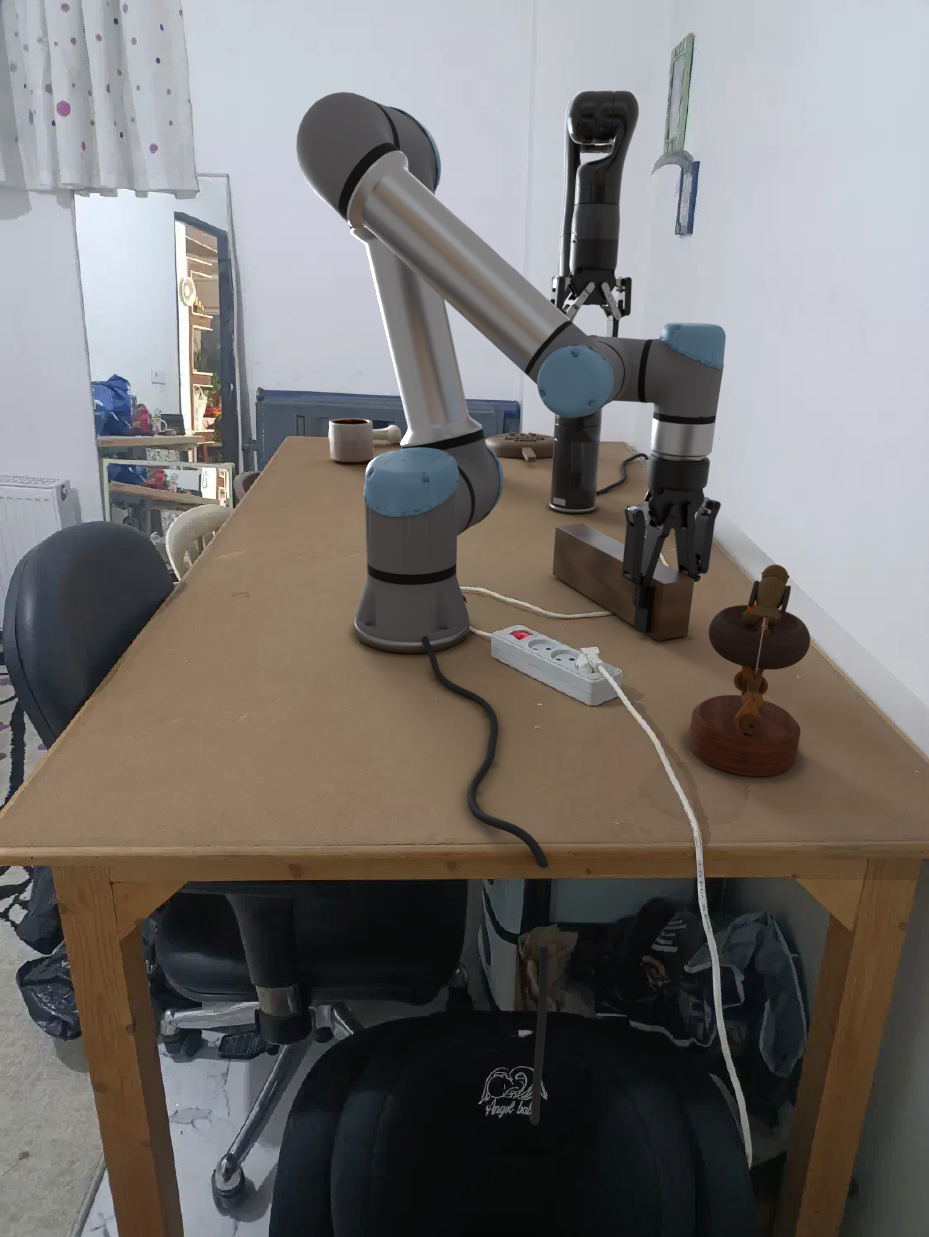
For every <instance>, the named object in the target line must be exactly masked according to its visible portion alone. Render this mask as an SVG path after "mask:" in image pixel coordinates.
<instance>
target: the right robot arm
mask: <svg viewBox="0 0 929 1237" xmlns="http://www.w3.org/2000/svg"><path fill="white" fill-rule="evenodd" d="M564 118H565V119H564V136H563V137H564V139H563V140H564V142H563V144H564V145H563V148H564V149H563V192H562V193H563V194H562V205H561V206H562V208H561V218H560V219H561V220H560V227H559V228H560V230H559V238H558V239H559V240H558V255H557V256H558V260H557V261H558V262H557V275H554V276H552V277H551V279H550V280H551V281H550V291H549V299H548V300H549V301H550V302H551V303H553V304H554V305H555V306H556V307H557V308H558V309H559V310H560V311H561V312H562V313H563V314H565V315H566V316H567V317H568V318H569V319H570V320H571V322H572V323H574V322H575V319H576V317H577V315H578V313H579V311H580V310H581V307H582V306H598V307H599V308H600V309H602V310H603V312H604V314H605V316H606V318H607V319H605V328H604V330H605V331H604V337H617V338H619V329H620V328H619V326H620V320H621V319H622V318H624V317H628V316H630V315H631V313H632V291H633V290H632V287H633V279H632V277H630V276H619V277H616V274H615V273H616V269H617V266H618V256H619V244H620V232H621V231H620V229H621V196H622V183H623V175H624V170H625V164H626V160H627V156H628V152H629V149H630V147H631V143H632V140H633V138H634V134H635V132H636V129H637V126H638V123H639V118H640V103H639V100H638V98H637V97H636V94H635V93H633V91H632V90H627V89H609V90H608V89H596V90H595V89H586V90H581V91H578V92H577V93H576V94H575V95H574V96H573V97H571V98H570V99H569V101H568V103H567V105H566V110H565V116H564ZM584 154H585V155H606V156H605V157H602V158H599V159H595V160H591V161H586V162H583V163H582V156H581V155H584ZM614 289H615V291H616V299H615V297H614V295H613V293H612V292H613V291H614ZM602 418H603V408H601V409H599V410H598V411H596V412H595V413H593V414H590V415H588V416H582V417H576V418H566V417H562V416H559V415H557V414H555V413H554V425H553V426H554V427H553V428H554V429H553V437H554V445H553V456H552V465H551V481H550V501H549V509H551V510H553V511H555V512H560V513H564V514H587V513H592V512H594V511H595V510H596V507H597V504H596V502H597V501H596V500H597V495H602V494H605V493H607V492H608V491H610V490H612V489H615V488H617V487H620V486H621V485H623V484H624V483H625V482H626V481H627V478H628V476H627V471H626V470H627V469H626V468H625V466H626V465H627V464H628V463H630V462H632V461H634V460H636V459H639V458H644V460H648V459H649V455H647V454H646V453H643V452H640V453H636V454H634V455H632V456H631V457H628V458H626V459H624V460H623V461H622V462H621V464H620V470H621V475H622V478H621V479H620V480H618V481H616V482H614V483H611V484H609V485H607V486H606V487H604V488H602V489H599V490H598V488H597V487H598V477H599V476H598V474H599V462H600V450H601V449H600V447H601V434H602V422H603V419H602Z"/></svg>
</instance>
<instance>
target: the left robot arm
mask: <svg viewBox="0 0 929 1237" xmlns="http://www.w3.org/2000/svg"><path fill="white" fill-rule="evenodd" d="M295 147H296V148H295V150H296V157H297V158H296V159H297V162H298V166H299V169H300V172H301V174H302V176H303V178H304V180H305V181H306V183H307V184H308V186H309V187H310V188H311V190H312V191H313V192H314V193H315V194H316V195H317V196H318V197H319V198H320V199H321V200H322V201H323V202H324V203H325V204H326V205H327V206H328V207H330V208H331V209H332V210H333V211H334V212H335V213H336V214H337V215H339V216H340V218H342V220H344V221H345V223H347V224H348V225H349V226H348V227H349V230H350V234H351V236H353V237H355V238H356V239H357V240H359V241H360V242H361V243H362V244H364V245H365V247H366V252H367V256H368V260H369V265H370V270H371V273H372V278H373V282H374V287H375V290H376V295H377V300H378V304H379V308H380V313H381V317H382V321H383V325H384V326H383V327H384V330H385V334H386V338H387V342H388V343H387V344H388V347H389V351H390V355H391V359H392V365H393V368H394V372H395V377H396V382H397V387H398V391H399V395H400V400H401V403H402V407H403V413H404V418H405V421H406V425H407V431H406V433H405V435H404V436H403V438H402V439H401V441H400V450H390V451H387V452H383V453H381V454H379V455H377V456H376V457H373V459H372V460H370V461H369V463H368V464H367V467H366V470H365V472H364V473H365V474H364V485H363V490H362V493H363V494H362V495H363V500H364V520H365V550H366V579H365V584H364V586H363V589H362V592H361V596H360V600H359V602H358V606H357V609H356V612H355V618H354V633H355V636H356V638H357V639H358V640H359V641H360V642H362V643H363V644H365V645H367V646H368V647H371V648H374V649H377V650H380V651H384V652H390V653H396V654H397V653H398V654H425V653H426V654H427V656H428V658H429V662H430V666H431V669H432V672H433V674H434V676H435V678H436V679H437V680H438V681H439V682H440V683H441V684H442V685H443V686H444V687H446V688H448V689H449V690H451V691H452V692H454V693H456V694H458V695H460V696H463V697H465V698H467V699H469V700H471V701H473V702H475V703H476V704H478V705H479V706H480V707H481V708H482V709H483V710H484V712H485V713H486V715H487V716H488V719H489V724H490V730H489V736H488V741H487V742H488V744H487V749H486V754H485V757H484V759H483V762H482V764H481V765H480V766H479V768H478V770H477V771H476V773H475V774H474V777H473V778H472V779H471V781H470V783H469V785H468V788H467V793H466V799H467V805H468V808H469V810H470V812H471V814H472V815H473V816H474V817H475V818H476V819H477V820H479V821H480V822H482V823H483V824H485V825H488V826H491V827H493V828H495V829H498V830H500V831H504V832H506V833H509V834H511V835H513V836H514V837H517V838H518V839H520V840H521V841H522V842H523V843H524V844H525V845H526V846H527V847H528V848H529V849H530V851H531V852H532V854H533V856H534V858H535V860H536V863H537V865H538V866H539V867H540V868H542V869H547V868H548V867H549V863H548V860H547V856H546V855H545V853H544V851H543V849H542V848H541V846H540V844H539V842H538V841H536V839H535V838H534V837H533V836H532V835H531V834H530V833H529V832H528V831H526V830H525V829H524V828H521V827H519V825H516V824H514V823H512V822H509V821H506V820H503V819H501V818H498V817H495V816H492V815H491V814H487V813H486V812H484V811H483V810H482V808H480V807H479V804H478V802H477V791H478V787H479V785H480V783H481V782H482V781H483V778H484V777H485V775H486V774H487V773H488V770H490V767H491V765H492V764H493V761H494V758H495V754H496V747H497V741H498V736H499V722H498V717H497V715H496V712H495V710H494V708H493V707H492V706H491V704H490V703H489V702H488V701H486V699H484V698H483V697H482V696H480V695H478V694H477V693H475V692H473V691H471V690H469V689H466V688H464V687H462V686H460V685H457V684H456V683H454V682H452V681H451V680H449V679H448V678H447V677H445V675H444V674H443V672H442V671H441V669H440V667H439V663H438V660H437V656H436V654H435V652H439V651H443V650H446V649H449V648H452V647H455V646H457V645H458V644H460V643H462V642H463V641H464V640H466V639H467V637H468V636H469V634H470V616H469V612H468V608H467V606H466V604H468V601H467V598H466V597H465V596H464V595H463V593H462V589H461V586H460V583H459V581H458V577H457V561H458V560H457V559H458V558H457V557H458V556H457V554H458V536H460V535H461V534H462V533H464V532H465V531H467V530H468V529H470V528H471V527H474V526H476V525H477V524H479V523H481V522H482V521H484V520H485V519H486V518H487V517H488V516H489V515H490V514H491V513H492V511H493V510H494V508H495V507H496V506H497V505H498V502H500V499H501V497H502V494H503V490H504V484H505V483H504V482H505V475H504V469H503V467H502V464H501V463H502V462H501V460H500V459H499V456H497V455H496V454H495V453H494V452H493V451H492V450H491V449H490V448H489V447H487V446H486V441H485V440H486V437H485V432H484V428H483V425H482V424H481V423H480V422H478V421H477V420H475V419H474V418H472V417H471V415H470V414H469V409H468V405H467V400H466V395H465V390H464V386H463V381H462V376H461V372H460V371H461V370H460V366H459V362H458V357H457V353H456V347H455V343H454V337H453V333H452V328H451V324H450V318H449V313H448V309H447V304H446V302H447V303H448V304H449V305H450V306H451V307H452V308H453V309H454V310H455V311H457V313H458V314H460V315H461V316H462V317H463V318H464V319H465V320H467V322H469V323H470V324H471V325H472V326H473V327H474V329H476V330H477V331H478V332H479V333H481V335H483V337H484V338H485V339H487V340H488V341H489V342H490V343H491V344H492V345H494V346H495V347H496V348H497V349H498V350H499V351H500V352H501V353H502V354H503V355H505V356H506V358H508V359H509V360H510V361H511V362H512V364H514V365H515V366H516V367H517V368H519V369H520V370H521V372H523V373H524V374H525V375H526V376H527V377H528V378H530V380H532V382H534V384H535V385H536V386H537V391H538V394H539V397H540V400H541V402H542V403H543V405H544V406H545V407H546V408H547V409H548V410H549V411H550V412H552V413H553V414H554V415H555V414H557V415H559V416H562V417H566V418H576V417H582V416H588V415H590V414H593V413H595V412H596V411H598V410H599V409H601V408H602V409H603V408H604V407H605V406H606V405H608V404H610V403H612V402H627V403H628V402H629V403H641V404H653V412H652V413H653V414H652V424H651V432H650V443H649V448H650V450H651V451H652V453H651V454H650V455H648V458H649V459H647V467H646V477H645V478H646V480H645V481H646V483H647V491H646V494H645V495H644V497H643V501H642V502H640V503H637V504H636V505H634V506H633V505H631V504H627V505H626V506H625V507H624V511H623V512H624V514H625V515H624V516H625V520H626V529H625V537H624V545H625V547H624V556H623V566H622V577H623V578H625V579H626V580H628V581H630V582H632V583H633V584H634V591H633V600H632V603H633V606H635V607H636V609H635V619H634V626H633V627H634V628H636V629H637V630H639V631H641V632H642V633H644V634H646V633H650V629H651V621H652V612H653V604H654V595H655V586H653V585H651V581H652V578H653V575H654V572H655V569H656V566H657V562H659V559H660V557H661V553H662V550H663V546H664V544H665V540H666V538H668V537H669V536H670V534H671V531H672V529H673V530H674V537H675V538H674V539H675V549H676V559H677V571H678V572H680V573H682V574H684V575H686V576H688V577H690V578H692V579H694V583H698V582H699V581H700V580H701V574H702V575H706V574H707V573H708V571H709V568H710V561H711V554H712V547H713V546H712V545H713V541H714V540H713V539H714V530H715V524H716V519H717V517H718V514H719V512H720V510H721V506H722V504H721V502H720V501H719V500H715V499H713V498H710V497H707V496H705V492H704V489H705V488H706V487H707V485H708V481H709V475H710V474H709V472H710V468H711V467H710V466H711V460H710V458H709V457H708V456H709V455H711V454H712V452H713V446H714V437H715V430H716V420H717V413H718V405H719V400H720V393H721V386H722V380H723V379H722V378H723V373H724V367H725V363H724V362H725V348H726V340H727V339H726V338H727V334H726V332H725V329H724V328H723V327H722V326H720V325H719V324H714V323H704V322H703V323H702V322H668V323H666V324H664V326H663V327H662V331H661V334H660V335H659V338H654V339H653V338H648V339H645V338H644V339H642V338H630V337H629V338H628V337H618V338H617V337H605V336H603V335H602V336H599V335H596V334H590V335H587V334H586V333H585V332H584V331H583V330H582V329H581V328H580V327H579V326H577V325H576V324H575V323H574V322H573V323H572V322H571V320H570V319H569V318H568V317H567V316H566V315H565V314H563V313H562V312H561V311H560V310H559V309H558V308H557V307H556V306H555V305H554V304H553V303H551V302H550V301H549V299H548V298H547V297H546V296H545V295H544V294H543V293H542V292H541V291H540V290H539V289H537V288H536V286H534V285H533V284H532V283H531V282H530V281H529V280H528V279H527V278H525V276H523V275H522V274H521V273H520V272H519V271H518V270H517V269H515V267H514V266H513V265H511V263H509V262H508V261H507V260H506V259H505V258H504V257H503V256H501V255H500V254H499V253H498V252H497V251H496V249H494V248H493V247H492V246H490V244H488V243H487V241H485V240H484V238H482V237H481V236H480V235H479V234H478V233H476V232H475V230H473V228H471V227H470V226H469V225H468V224H467V223H466V222H464V221H463V219H462V218H461V217H459V216H458V215H457V214H456V213H455V212H454V211H453V210H452V209H451V208H450V207H448V206H447V205H446V204H445V203H444V202H443V201H442V200H441V199H440V198H439V197H438V196H437V195H436V191H437V189H438V186H440V181H441V175H442V162H441V155H440V152H439V148H438V145H437V143H436V141H435V139H434V137H433V136H432V133H431V132H430V131H429V130H428V129H427V128H426V126H425V125H424V124H423V123H422V122H420V121H419V120H417V119H416V117H414V116H413V115H412V114H409V113H408V112H407V111H405V110H403V109H401V108H398V107H394V106H387V105H384V104H382V103H379V102H377V101H374V100H372V99H369V98H368V97H366V96H363V95H361V94H357V93H354V92H346V91H340V92H333V93H331V94H327V95H325V96H323V97H321V98H320V99H318V100H316V101H315V102H314V103H313V104H312V105H311V106H310V107H309V108H308V110H307V111H306V112H305V114H304V115H303V117H302V119H301V122H300V123H299V126H298V130H297V133H296V146H295ZM647 515H649V516H647ZM646 635H647V634H646ZM548 991H549V947H545V946H539V947H538V995H537V996H538V997H537V998H538V1001H537V1017H536V1018H537V1019H536V1033H535V1047H534V1060H533V1074H532V1088H531V1089H532V1090H531V1108H530V1123H531V1125H533V1126H538V1124H540V1112H541V1111H540V1110H541V1094H542V1082H543V1081H542V1080H543V1067H544V1056H545V1055H544V1054H545V1043H546V1042H545V1041H546V1031H547V1030H546V1029H547V1014H548V1013H547V1012H548V995H549V994H548Z"/></svg>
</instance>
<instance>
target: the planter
mask: <svg viewBox="0 0 929 1237" xmlns="http://www.w3.org/2000/svg"><path fill="white" fill-rule="evenodd" d="M328 424H329V425H328V426H329V428H330V442H329V453H330V454H329V455H330V456H329V457H330V459H331V460H332V461H333V462H335V463H341V464H363V463H367V462H371V461H372V460H373V459H374V458H375V457H374V456H375V455H374V452H375V451H374V450H375V449H374V440H373V429H374V428H373V420H371V419H369V418H362V417H361V418H360V417H342V418H341V417H340V418H335V419H334V418H333V419H331V420H329V421H328Z"/></svg>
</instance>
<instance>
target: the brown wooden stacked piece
mask: <svg viewBox="0 0 929 1237" xmlns="http://www.w3.org/2000/svg"><path fill="white" fill-rule="evenodd" d="M760 573H761V580H754V582H753V584H752V585H753V586H752V589H751V592H750V596H749V599H748V603H747V604H740V605H733V606H728V607H726V608H724V609H721V610H720V611H718V613H716V614H715V615H714V617H713V618H712V619H711V621H710V624H709V628H708V639H709V642H710V645H711V647H712V648H713V650H714V651H715V652H716V653H717V654H718V655H719V656H720V657H722V658H723V659H725V660H726V661H728V662H731V663H733V664H736V665H738V666H741V670H739V671H738V672H736V673H735V675H734V677H733V685H734V687H735V688H736V689H737V690H738V691H740V692H741V693H740V695H739V694H738V695H737V694H723V695H717V696H713V697H710V698H708V699H705V700H704V701H702V702H700V703H698V704H697V705H696V706H694V708H693V710H692V711H691V712H692V713H691V719H690V727H689V734H688V746H689V748H690V750H691V751H692V753H693V754H694V755H695V756H696V757H698V758H699V759H700V760H701V761H703V762H704V763H706V764H708V765H710V766H712V767H714V768H716V769H719V770H722V771H724V772H727V773H731V774H735V775H741V776H749V777H769V776H775V775H779V774H782V773H784V772H786V771H788V770H790V769H791V768H792V767H793V766H794V764H795V763H796V759H797V753H798V748H799V742H800V738H801V734H802V733H801V732H802V731H801V727H800V725H799V723H798V721H797V720H796V719H795V718H794V717H793V716H792V715H791V714H790V712H788V711H787V710H785V709H784V708H782V707H781V706H779V705H777V704H775V703H773V702H770V701H768V700H765V699H764V695H765V694H766V693H767V691H768V689H769V684H768V680H767V679H766V677H764V676H763V673H764V671H765V670H769V671H770V670H772V671H773V670H781V669H787V668H790V667H791V666H795V665H796V664H797V663H799V662H800V661H801V660H803V658H804V657H805V656H807V653H808V652H809V649H810V646H811V635H810V631H809V629H808V627H807V625H806V624H805V622H804V621H803V620H802V619H800V618H799V617H798V616H796V615H795V614H793V613H791V612H788V611H787V609H788V604H789V601H790V596H791V591H792V590H791V589H792V586H791V585H786V584H787V583H788V580H789V579H790V575H789V573H788V570H787V569H786V568H785V567H783V566H782V565H780V564H771V565H768V566H767V567H766V568H764V570H763V571H761V572H760Z"/></svg>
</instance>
